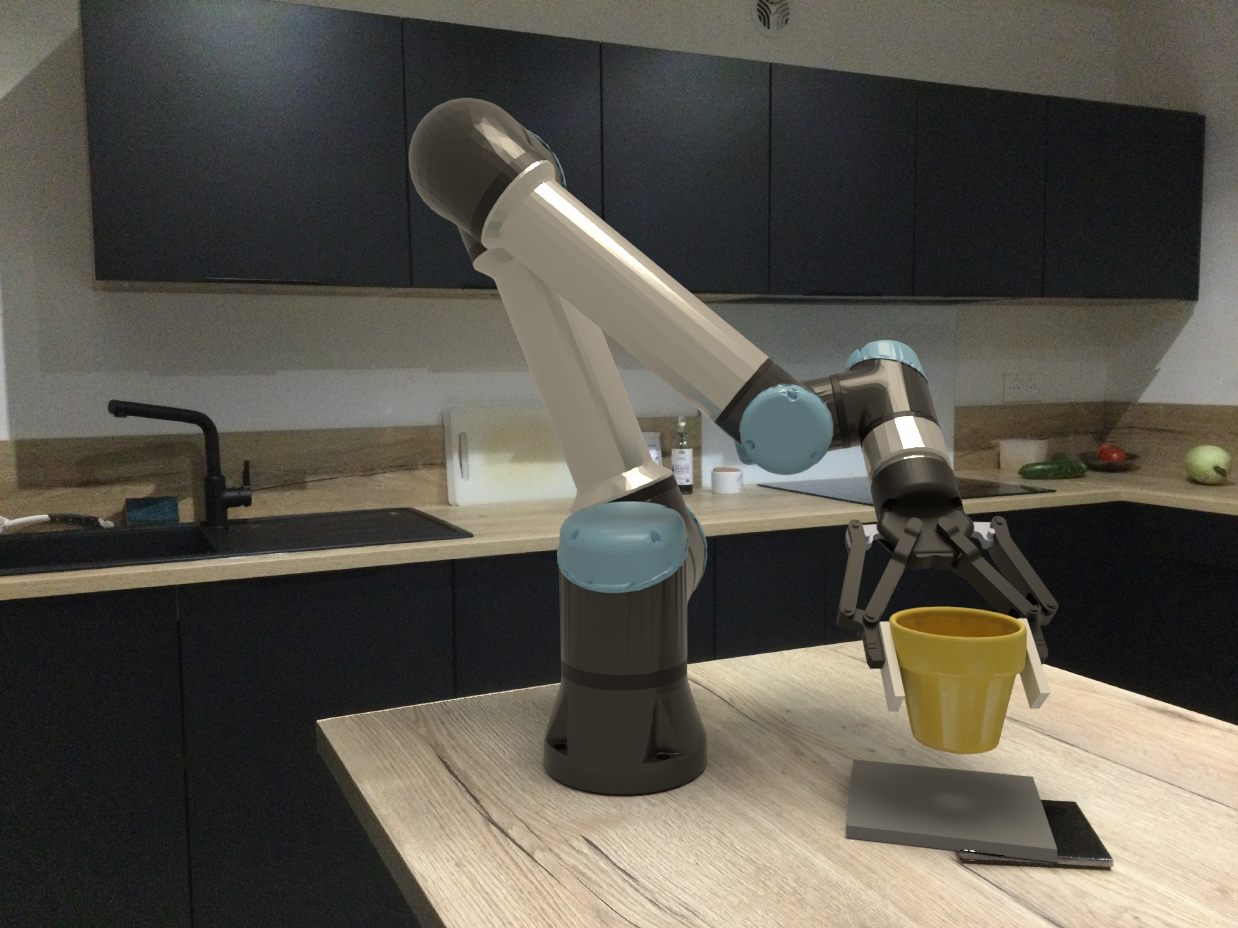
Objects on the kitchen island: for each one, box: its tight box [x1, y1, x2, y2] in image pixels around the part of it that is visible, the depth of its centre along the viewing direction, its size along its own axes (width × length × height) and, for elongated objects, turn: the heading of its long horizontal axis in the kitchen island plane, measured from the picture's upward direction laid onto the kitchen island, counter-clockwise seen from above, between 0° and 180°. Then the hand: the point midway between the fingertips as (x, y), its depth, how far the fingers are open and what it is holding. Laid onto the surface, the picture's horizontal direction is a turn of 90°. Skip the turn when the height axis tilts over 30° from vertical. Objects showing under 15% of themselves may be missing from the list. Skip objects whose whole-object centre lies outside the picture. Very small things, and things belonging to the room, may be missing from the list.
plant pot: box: [888, 606, 1027, 755], centre depth 77 cm, size 10×10×10 cm
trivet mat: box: [845, 758, 1058, 863], centre depth 78 cm, size 15×13×1 cm
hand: (968, 702), depth 74 cm, fingers closed on plant pot, 10 cm apart
